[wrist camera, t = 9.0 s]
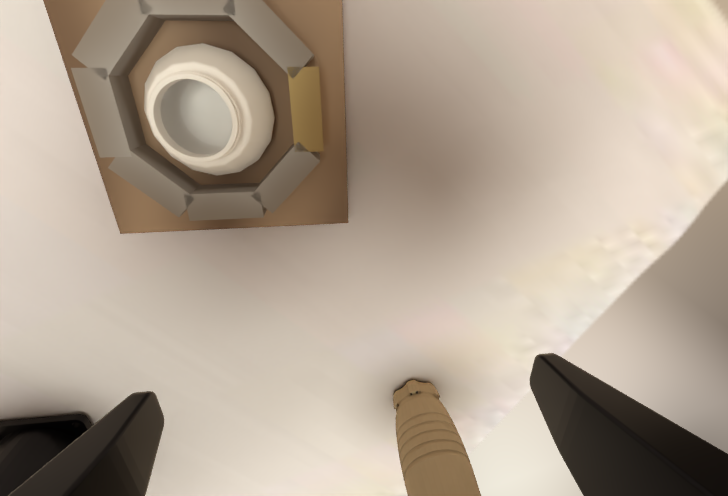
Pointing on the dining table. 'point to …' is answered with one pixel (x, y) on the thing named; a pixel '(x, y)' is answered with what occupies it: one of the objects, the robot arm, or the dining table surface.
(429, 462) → the handle
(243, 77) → the white jar
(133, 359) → the dining table surface
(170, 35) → the hub plate
